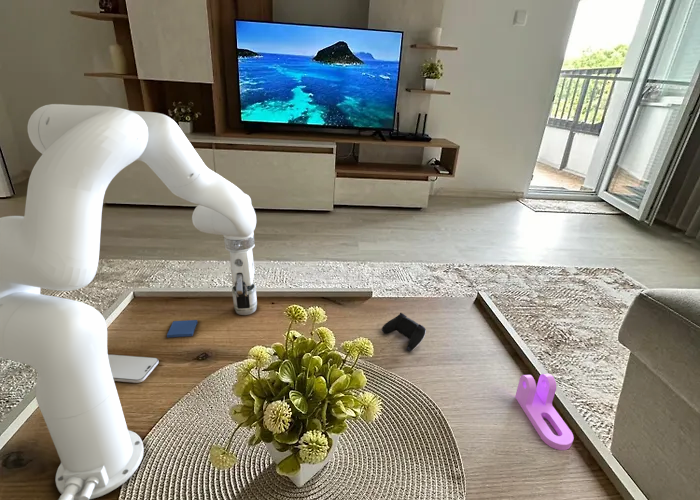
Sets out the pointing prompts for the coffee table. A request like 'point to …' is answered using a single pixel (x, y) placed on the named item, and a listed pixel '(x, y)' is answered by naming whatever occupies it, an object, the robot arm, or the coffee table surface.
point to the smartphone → (131, 367)
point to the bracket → (543, 410)
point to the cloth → (182, 328)
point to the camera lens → (252, 300)
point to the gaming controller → (406, 330)
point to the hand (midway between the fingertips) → (245, 300)
